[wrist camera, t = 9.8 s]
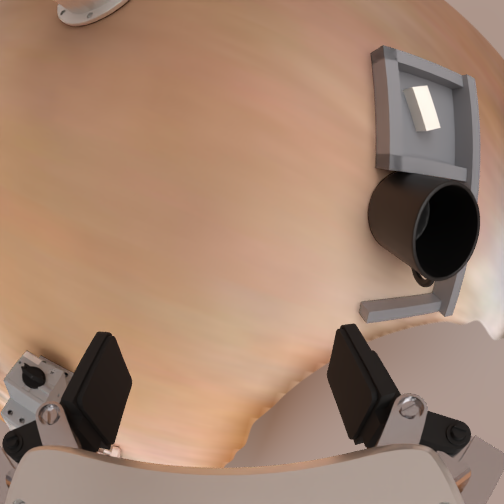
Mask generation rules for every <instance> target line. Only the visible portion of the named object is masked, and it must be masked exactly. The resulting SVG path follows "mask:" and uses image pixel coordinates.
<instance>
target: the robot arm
mask: <svg viewBox="0 0 504 504" xmlns="http://www.w3.org/2000/svg"><path fill="white" fill-rule="evenodd" d="M54 1H55V2H57V3H58V8H57V14H58V17H59V19H60V20H61V21H62V22H64V23H65V24H67V25H70V26H82V25H87V24H90V23H93V22H95V21H98V20H100V19H102V18H104V17H106V16H107V15H109V14H111V13H113V12H114V11H115V10H117V9H118V8H120V7H121V6H122V5H124V4H125V3H126V2H127V1H129V0H54ZM327 378H328V381H329V384H330V387H331V390H332V392H333V395H334V398H335V400H336V403H337V406H338V409H339V412H340V414H341V417H342V420H343V423H344V425H345V428H346V431H347V434H348V437H349V438H350V439H353V440H354V443H355V445H357V444H360V443H364V444H365V446H366V447H367V449H364V450H360V451H355V452H351V453H347V454H342V455H338V456H333V457H328V458H323V459H317V460H311V461H305V462H298V463H291V464H283V465H273V466H261V467H244V468H201V467H183V466H171V465H162V464H154V463H146V462H140V461H134V460H128V459H123V458H118V457H113V456H108V455H103V454H99V453H98V450H99V448H103V449H108V450H110V447H111V444H114V443H115V439H116V436H117V432H118V429H119V425H120V422H121V418H122V415H123V412H124V408H125V405H126V402H127V399H128V395H129V392H130V389H131V386H132V379H131V376H130V374H129V371H128V369H127V367H126V364H125V362H124V359H123V357H122V354H121V351H120V349H119V346H118V343H117V341H116V338H115V337H114V336H112V334H111V333H109V332H97V333H96V335H95V337H94V338H93V340H92V342H91V343H90V345H89V347H88V349H87V350H86V352H85V354H84V356H83V357H82V359H81V361H80V363H79V365H78V367H77V368H76V370H75V372H74V374H73V376H72V378H71V380H70V382H69V384H68V386H67V388H66V389H65V391H64V393H63V395H62V398H61V401H60V403H58V402H55V401H48V402H45V403H43V404H42V405H40V406H39V407H38V409H37V411H36V414H35V417H36V420H34V421H32V422H30V423H27V424H25V425H23V426H21V427H18V428H16V429H13V430H11V431H9V432H8V433H7V434H6V435H5V437H4V439H3V447H2V448H1V447H0V504H486V503H487V501H488V499H489V497H490V496H491V494H492V492H493V490H494V488H495V486H496V485H497V482H498V481H499V479H500V476H501V475H502V473H503V470H504V453H503V452H502V451H500V450H498V449H497V448H495V447H493V446H492V445H490V444H488V443H487V442H485V441H484V440H482V439H481V438H479V437H477V436H476V435H475V436H474V437H472V436H471V432H470V429H469V427H468V426H467V425H466V424H465V423H464V422H461V421H459V420H455V419H452V418H448V417H446V416H442V415H439V414H436V413H433V412H430V411H427V410H428V407H427V404H426V402H425V401H424V399H423V398H421V397H420V396H418V395H416V394H411V393H407V394H403V395H401V394H400V392H399V391H398V389H397V387H396V386H395V384H394V382H393V380H392V379H391V377H390V375H389V373H388V372H387V370H386V368H385V367H384V365H383V363H382V362H381V360H380V358H379V357H378V355H377V354H376V352H375V351H371V349H370V347H369V346H368V344H367V342H366V341H365V339H364V337H363V336H362V334H361V332H360V331H359V329H358V328H357V326H356V325H355V324H348V325H342V326H341V327H340V329H337V331H336V335H335V340H334V345H333V350H332V354H331V359H330V363H329V367H328V371H327Z"/></svg>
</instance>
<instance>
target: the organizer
mask: <svg viewBox="0 0 504 504" xmlns="http://www.w3.org/2000/svg"><path fill="white" fill-rule="evenodd" d="M371 60H372V69H373V81H374V94H375V115H376V168H379V169H386V170H394V171H402V172H410V173H417V174H424V175H431V176H437V177H443V178H449V179H451V180H454V181H458V182H461V183H462V184H464V185H465V186H467V187H468V188H469V189H470V191H471V192H472V193H473V195H474V197H475V199H476V201H478V191H479V177H480V123H479V109H478V99H477V90H476V83H475V79H474V78H473V77H471V76H469V75H460V74H458V73H456V72H453V71H451V70H449V69H447V68H445V67H442V66H440V65H438V64H435V63H433V62H430V61H428V60H425V59H423V58H420V57H417V56H415V55H412V54H409V53H406V52H403V51H400V50H397V49H394V48H391V47H387V46H384V45H383V46H381V47H380V48H378V49H376V50H375V51H373V52H372V53H371ZM426 85H427V86H428V89H429V92H430V95H431V98H432V101H433V104H434V107H435V110H436V114H437V117H438V120H439V124H440V128H437V129H433V130H429V131H418V132H416V129H415V125H414V122H413V119H412V116H411V113H410V109H409V106H408V104H407V101H406V98H405V95H404V92H403V90H404V89H408V88H411V87H417V86H426ZM466 266H467V263H466V265H465V266H464V267H463V268H462V269H461V270H460V271H459V272H458V273H457V274H456V275H454V276H453V277H451V278H449V279H447V280H443V281H435V285H434V289H433V293H429V294H422V295H414V296H407V297H399V298H391V299H382V300H373V301H363V302H361V305H360V310H359V313H360V315H361V316H362V318H363V319H364V320H365V322H366V323H373V322H380V321H387V320H394V319H400V318H406V317H412V316H417V315H423V314H428V313H433V312H438V311H439V312H440V313H441V314H442V315H443V316H444V317H446V316H450V315H452V314H453V311H454V308H455V305H456V302H457V299H458V296H459V292H460V289H461V285H462V281H463V278H464V274H465V270H466Z"/></svg>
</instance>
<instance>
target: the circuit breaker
mask: <svg viewBox="0 0 504 504" xmlns="http://www.w3.org/2000/svg"><path fill="white" fill-rule="evenodd" d="M73 374H74V373H73V372H71V371H69V370H67V369H65V368H63V367H61V366H59V365H57V364H55V363H53V362H52V361H50V360H48V359H46V358H44V357H43V356H40V357H39V358H38V357H37V356H35V355H33V354H32V353H30V352H29V351H27V350H26V352H25V353H24V354H23V355H22V357H21V358H20V359H19V360H18V361H17V363H16V364H15V365H14V366H13V368H12V369H11V370H10V372H9V373H8V374H7V376H6V377H5V378H4V382H5V385H6V388H7V390H8V392H9V395H10V399H9V400H8V402H7V403H6V405H5V407H4V408H3V410H2V411H1V415H2V417H3V419H4V420H5V422H6V424H7V425H8V427H9V429H10V430H13V429H16V428H18V427H21V426H23V425H25V424H27V423H30V422H32V421H34V420H36V417H35V414H36V411H37V409H38V407H39V406H40V405H42V404H43V403H45V402H48V401H55V402H58V403H60V401H61V398H62V395H63V393H64V391H65V389H66V388H67V386H68V384H69V382H70V380H71V378H72V376H73ZM67 375H68V376H67Z"/></svg>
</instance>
